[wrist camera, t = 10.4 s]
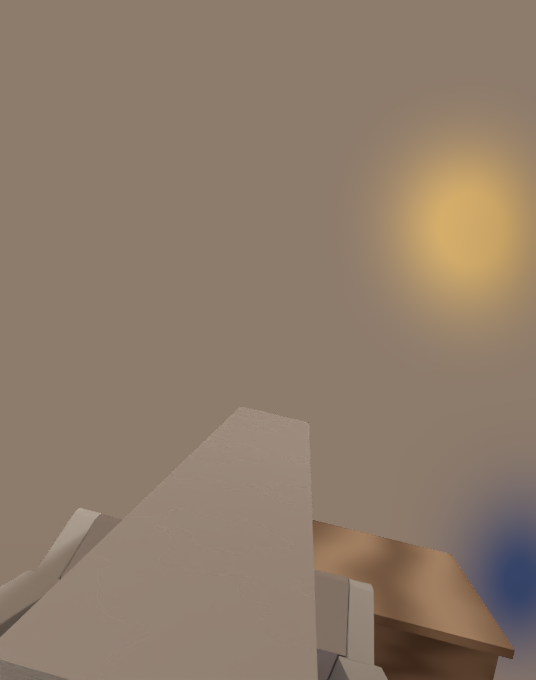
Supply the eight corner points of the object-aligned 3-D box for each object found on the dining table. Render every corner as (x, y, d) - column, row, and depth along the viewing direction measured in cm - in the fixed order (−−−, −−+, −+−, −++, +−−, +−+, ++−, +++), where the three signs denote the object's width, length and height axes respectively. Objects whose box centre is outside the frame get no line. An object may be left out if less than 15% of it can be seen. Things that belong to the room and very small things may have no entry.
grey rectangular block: (293, 491, 25) (309, 422, 25) (240, 1102, 5) (320, 753, 5) (225, 474, 25) (240, 406, 25) (-91, 985, 5) (-18, 653, 5)
